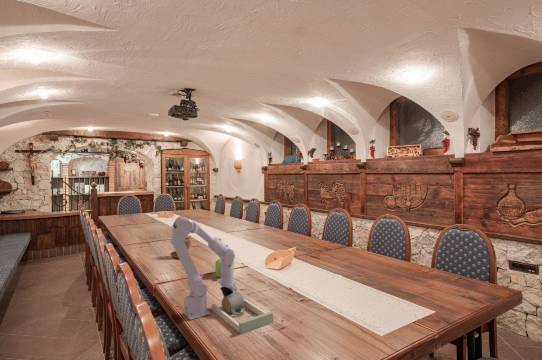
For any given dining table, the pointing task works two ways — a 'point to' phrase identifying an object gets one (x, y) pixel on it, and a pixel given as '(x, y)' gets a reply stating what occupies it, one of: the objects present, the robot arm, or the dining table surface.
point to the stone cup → (187, 243)
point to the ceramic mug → (233, 303)
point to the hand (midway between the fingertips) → (227, 302)
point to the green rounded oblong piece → (218, 268)
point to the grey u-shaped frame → (250, 323)
